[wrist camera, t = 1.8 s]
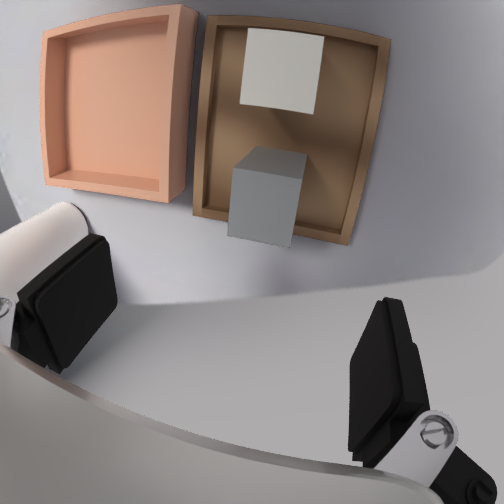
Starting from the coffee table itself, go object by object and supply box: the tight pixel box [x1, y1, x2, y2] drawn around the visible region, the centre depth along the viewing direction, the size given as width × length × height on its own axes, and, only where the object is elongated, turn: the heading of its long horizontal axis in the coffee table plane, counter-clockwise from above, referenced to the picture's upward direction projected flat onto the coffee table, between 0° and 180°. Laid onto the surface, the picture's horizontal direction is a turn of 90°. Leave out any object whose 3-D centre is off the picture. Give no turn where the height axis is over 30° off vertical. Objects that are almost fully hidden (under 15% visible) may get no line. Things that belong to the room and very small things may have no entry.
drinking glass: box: [0, 202, 88, 303], centre depth 21 cm, size 7×7×15 cm
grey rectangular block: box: [227, 146, 307, 248], centre depth 18 cm, size 4×3×6 cm
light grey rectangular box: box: [240, 28, 324, 114], centre depth 15 cm, size 4×3×6 cm
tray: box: [193, 15, 391, 246], centre depth 19 cm, size 14×11×1 cm
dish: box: [40, 4, 199, 203], centre depth 19 cm, size 13×12×3 cm
